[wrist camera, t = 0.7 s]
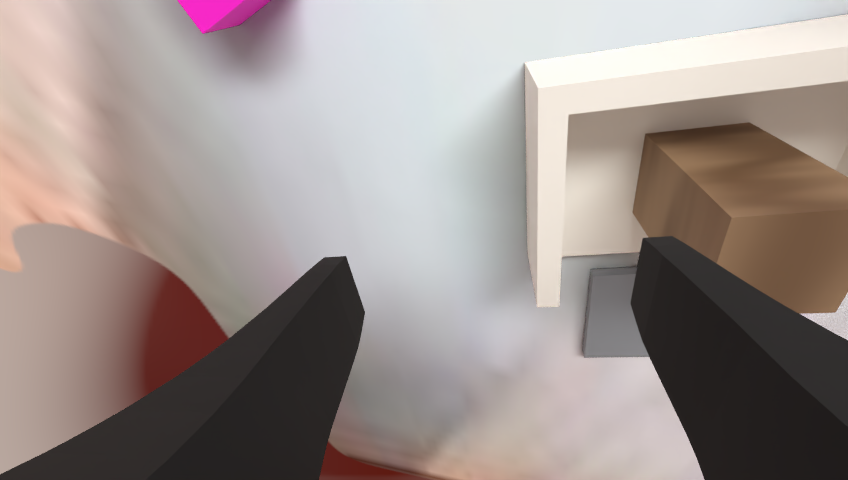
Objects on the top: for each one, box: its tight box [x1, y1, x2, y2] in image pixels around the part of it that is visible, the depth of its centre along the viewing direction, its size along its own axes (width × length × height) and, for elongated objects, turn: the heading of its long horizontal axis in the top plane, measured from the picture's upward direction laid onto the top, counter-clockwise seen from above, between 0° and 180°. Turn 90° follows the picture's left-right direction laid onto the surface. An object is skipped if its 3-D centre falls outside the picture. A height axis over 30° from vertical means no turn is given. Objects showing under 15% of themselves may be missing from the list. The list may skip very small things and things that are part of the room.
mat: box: [582, 267, 649, 358], centre depth 23 cm, size 9×7×1 cm
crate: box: [525, 14, 848, 307], centre depth 16 cm, size 14×10×4 cm
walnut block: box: [632, 122, 848, 313], centre depth 15 cm, size 4×4×7 cm
